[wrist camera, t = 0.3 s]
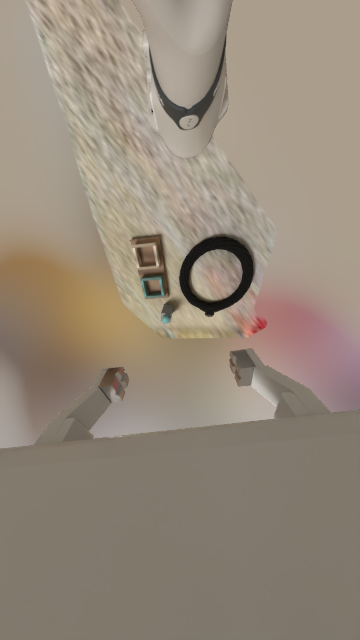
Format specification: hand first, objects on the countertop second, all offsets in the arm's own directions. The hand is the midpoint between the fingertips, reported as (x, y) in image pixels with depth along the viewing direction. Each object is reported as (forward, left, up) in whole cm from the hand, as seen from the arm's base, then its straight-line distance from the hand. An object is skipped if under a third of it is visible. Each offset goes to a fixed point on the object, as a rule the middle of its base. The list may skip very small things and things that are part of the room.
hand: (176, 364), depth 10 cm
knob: (+20, -9, -47) cm, 52 cm away
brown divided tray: (+3, -13, -47) cm, 49 cm away
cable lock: (+9, +11, -48) cm, 50 cm away
